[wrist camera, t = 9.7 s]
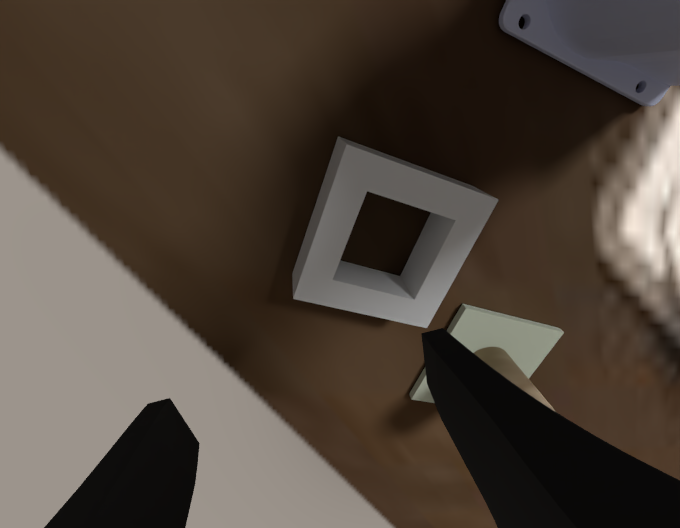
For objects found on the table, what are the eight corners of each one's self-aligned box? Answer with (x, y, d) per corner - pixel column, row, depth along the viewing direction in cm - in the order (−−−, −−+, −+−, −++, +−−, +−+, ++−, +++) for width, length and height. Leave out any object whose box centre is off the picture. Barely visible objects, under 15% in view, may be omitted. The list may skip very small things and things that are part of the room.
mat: (558, 327, 23) (564, 332, 23) (498, 407, 27) (502, 413, 26) (462, 303, 21) (466, 308, 21) (408, 393, 24) (411, 399, 24)
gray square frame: (472, 185, 18) (498, 199, 16) (411, 302, 21) (426, 328, 18) (338, 136, 16) (346, 144, 13) (292, 273, 19) (293, 298, 16)
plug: (508, 340, 23) (583, 426, 17) (509, 376, 24) (578, 465, 19) (457, 355, 23) (516, 446, 17) (462, 390, 24) (516, 484, 19)
